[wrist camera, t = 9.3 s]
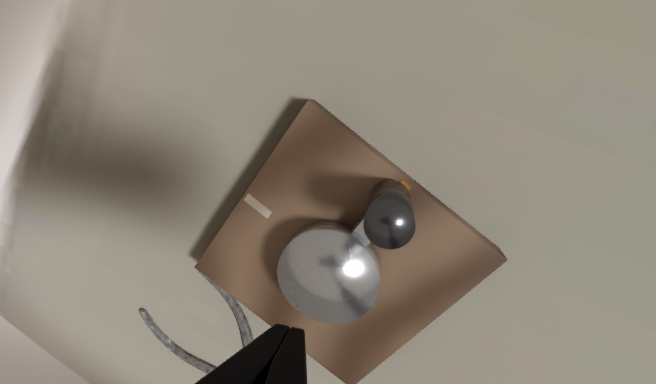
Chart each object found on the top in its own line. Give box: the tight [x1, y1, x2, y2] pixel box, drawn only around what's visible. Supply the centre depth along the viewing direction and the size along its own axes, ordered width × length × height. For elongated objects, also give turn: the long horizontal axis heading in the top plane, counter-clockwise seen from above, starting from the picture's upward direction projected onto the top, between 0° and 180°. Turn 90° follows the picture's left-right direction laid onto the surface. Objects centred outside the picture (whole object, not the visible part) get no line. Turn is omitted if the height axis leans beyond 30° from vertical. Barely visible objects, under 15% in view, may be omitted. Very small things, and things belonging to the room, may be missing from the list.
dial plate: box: [195, 100, 507, 384], centre depth 21 cm, size 15×15×2 cm
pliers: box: [139, 271, 253, 374], centre depth 27 cm, size 10×1×20 cm
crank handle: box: [277, 180, 416, 324], centre depth 18 cm, size 10×6×4 cm, turn 145°
